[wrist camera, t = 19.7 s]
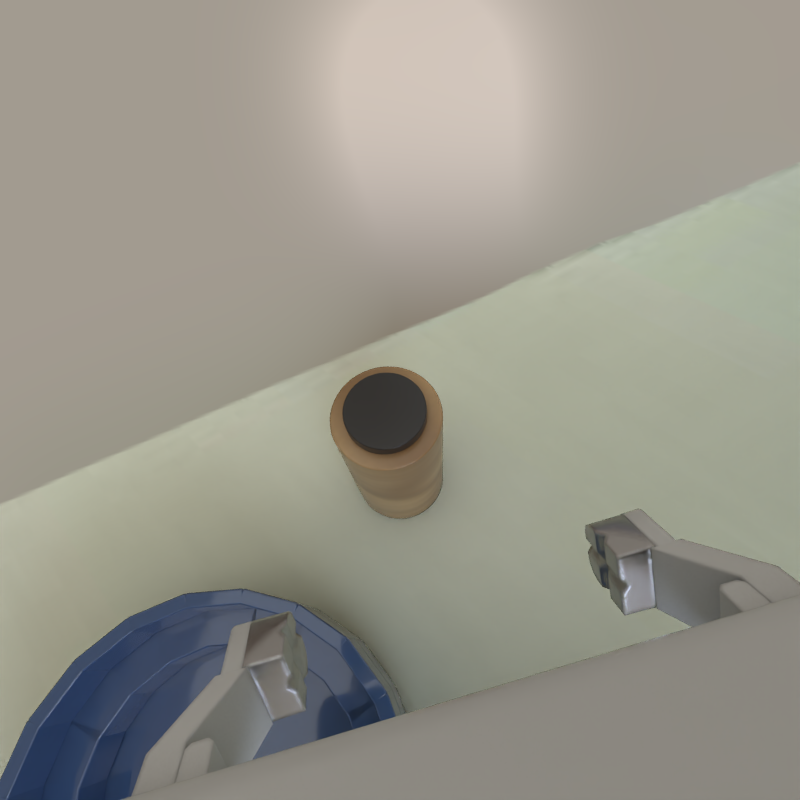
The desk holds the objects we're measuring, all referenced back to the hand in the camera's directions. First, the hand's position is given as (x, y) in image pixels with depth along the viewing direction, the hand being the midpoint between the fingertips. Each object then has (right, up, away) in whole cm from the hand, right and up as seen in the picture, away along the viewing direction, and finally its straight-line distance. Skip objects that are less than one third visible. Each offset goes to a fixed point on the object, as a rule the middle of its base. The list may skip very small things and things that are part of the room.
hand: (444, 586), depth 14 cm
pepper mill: (-1, +1, +14) cm, 14 cm away
